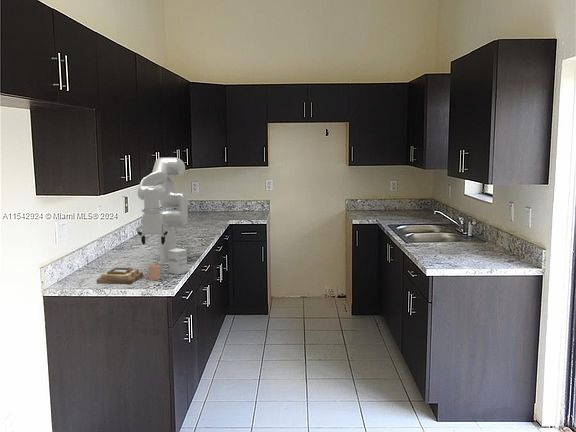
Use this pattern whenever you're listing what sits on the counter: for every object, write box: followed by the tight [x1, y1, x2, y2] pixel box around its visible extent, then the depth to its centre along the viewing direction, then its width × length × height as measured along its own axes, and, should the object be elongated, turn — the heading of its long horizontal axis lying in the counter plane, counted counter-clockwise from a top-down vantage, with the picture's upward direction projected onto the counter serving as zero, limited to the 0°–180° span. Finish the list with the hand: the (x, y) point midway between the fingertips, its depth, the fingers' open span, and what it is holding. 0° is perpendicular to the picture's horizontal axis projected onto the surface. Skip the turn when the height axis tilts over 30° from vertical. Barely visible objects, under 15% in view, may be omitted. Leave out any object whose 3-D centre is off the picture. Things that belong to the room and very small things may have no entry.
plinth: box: [96, 267, 144, 285], centre depth 274 cm, size 16×18×5 cm
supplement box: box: [168, 247, 188, 275], centre depth 288 cm, size 7×7×13 cm
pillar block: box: [147, 263, 162, 281], centre depth 276 cm, size 5×5×7 cm
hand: (153, 244), depth 273 cm, fingers open, 9 cm apart
